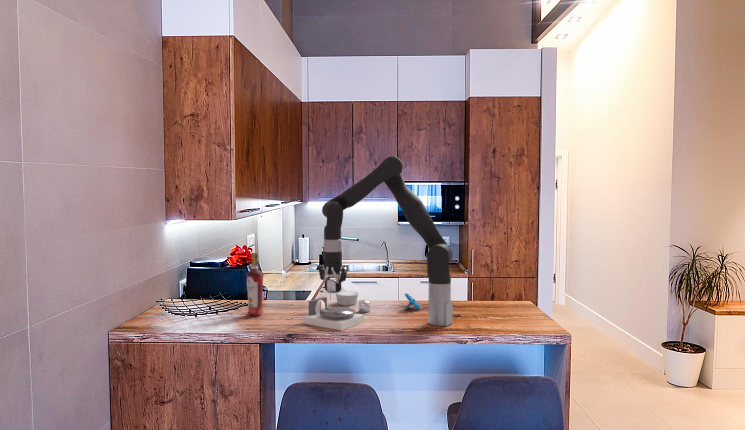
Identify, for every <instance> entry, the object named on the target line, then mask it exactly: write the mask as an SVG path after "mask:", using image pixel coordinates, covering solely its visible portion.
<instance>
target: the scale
mask: <svg viewBox="0 0 745 430" xmlns="http://www.w3.org/2000/svg"><path fill="white" fill-rule="evenodd" d="M325 308H328V297H326V296H322V297H319V298H314V299H311V300H308V314H306V315H303V317H302V323H303V324H305V325H311V326H315V327H321V328H327V329H333V330H338V331H344V330H346V329H349V328H351V327H354V326H357V325H359V324H362V323H364V322H365V315H364V314H363V313H356V312H355V315H353V316H349V317H343V318H330V317H324V316H321V315H320V310H322V309H325Z"/></svg>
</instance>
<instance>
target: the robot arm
mask: <svg viewBox="0 0 745 430" xmlns="http://www.w3.org/2000/svg"><path fill="white" fill-rule="evenodd" d="M403 166H404V165H403V161H402V160H401V159H400V158H399V157H397V156H395V155H394V156H388V157H386V158H384V159H383V161H382V162H381V163H380V164H379V165H378V166H377V167H376V168H374V170H373V171H371V172H370V173H368V174H367V175H365V176H364V177H363V178H362V179H360V180H359V181H358V182H356V183H354V184H353V185H352V186H350V187H348V188H347V189H346V190H344V191H343V192H342V193H340V194H338V195H337V196H335V197H333V198H330V200H327V201H326V202H325V203H324V205H323V206H322V209H321V212H322V215H323V216H324V217H325V218H326V225H325V226H324V228H323V240H324V241H323V262H324V263H323V264H319V265H318V267H317V269H318V273H319V274H318V275H319V279H320V280H321V281H323V282H324V291H326V292H327V280H328V279H331V277H332V275H333V279H336V292H340V291H342V283H344V282H346V279H347V274H348V267H347V266H345V267H344V266H343V265H342V261H343V249H342V247H343V244H342V225H343V220H344V211H345V210H346V209H349V208H351V207H353V206H355V205H356V204H358V203H359V202H361V201H362V200H363V199H365V198H366V197H367V196H368V195H370V193H371V192H372V191H374V190H375V189H376V188H377V187H378V186H380V185H381V184H382V183H384V184H385V185H386V186H387V188H388V189H389V191H390V192H391V194H392V195H393V198H394V199H395V201H396V203H397V204H398V206H399V207H400V210H401V211H402V213H403V216H404V217H405V219H406V220H407V222H408V224H409V225H410V226H411V227H412V228H413V230H415V231H416V233H418V235H420V237H421V238H422V239H423V241H424V243H425V244H426V246H427V248H428V251H427V253H426V266H427V267H426V274H427V279H428V306H427V307H428V310H427V311H428V321H427V322H428V324H429V325H432V326H440V327H444V326H445V327H447V326H449V325H451V324H453V311H454V310H453V306H454V305H453V304H454V302H453V300H452V299H451V298H452V297H451V296H452V295H451V292H452V291H451V290H452V289H451V288H452V286H451V285H452V284H451V283H452V277H451V274H450V262H451V261H452V258H453V251H452V248H451V247H450V246H449V244H448V242H447V241H446V240H445V239H444V237H443V236H442V234H441V233H440V232H439V230H438V229H437V227H436V224H435V222H434V221H433V219H432V217H431V215H430V213H429V212H428V210H427V208H426V206H425V204H424V203H423V201H422V200H421V199H420V198H419V197H418V195H417V194H416V193H414V192H413V191H412V190H411V189H410V188H409V187H408V186H407V184H406V182H405V180H404V178H403V176H402V171H403V169H404V167H403Z"/></svg>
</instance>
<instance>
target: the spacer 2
mask: <svg viewBox="0 0 745 430" xmlns="http://www.w3.org/2000/svg"><path fill="white" fill-rule="evenodd" d="M370 304H371V301H370V300H368V299H360V300H358V314H368V313H370V312H371V307H370V306H371V305H370Z"/></svg>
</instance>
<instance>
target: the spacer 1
mask: <svg viewBox="0 0 745 430" xmlns="http://www.w3.org/2000/svg"><path fill="white" fill-rule="evenodd" d="M326 293H328V294H336V293H338V292H336V279H335V278H330V279H328V280H327V291H326Z"/></svg>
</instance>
